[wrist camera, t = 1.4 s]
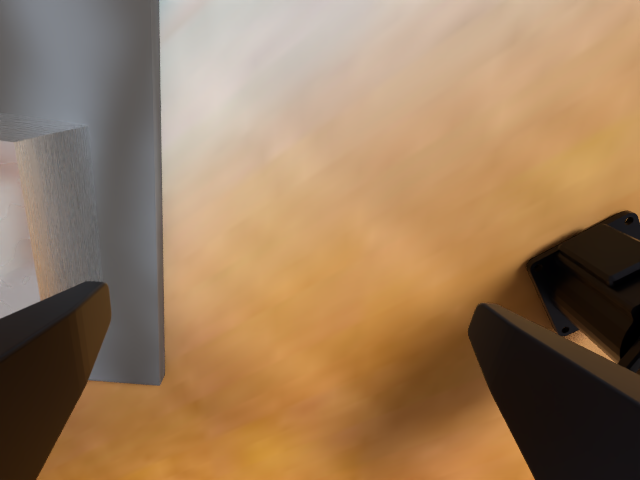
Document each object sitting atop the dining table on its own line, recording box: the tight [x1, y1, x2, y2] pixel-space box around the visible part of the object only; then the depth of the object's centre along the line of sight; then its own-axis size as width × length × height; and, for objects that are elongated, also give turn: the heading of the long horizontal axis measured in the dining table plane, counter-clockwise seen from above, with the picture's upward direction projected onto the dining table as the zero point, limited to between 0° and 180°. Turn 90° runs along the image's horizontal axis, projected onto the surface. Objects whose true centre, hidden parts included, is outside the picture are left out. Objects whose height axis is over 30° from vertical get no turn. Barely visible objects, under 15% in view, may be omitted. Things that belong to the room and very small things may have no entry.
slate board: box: [0, 0, 165, 386], centre depth 20 cm, size 16×22×1 cm
